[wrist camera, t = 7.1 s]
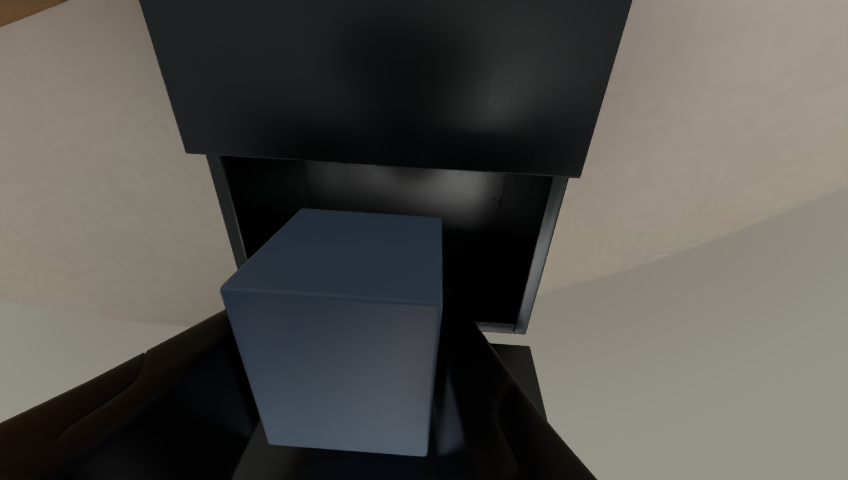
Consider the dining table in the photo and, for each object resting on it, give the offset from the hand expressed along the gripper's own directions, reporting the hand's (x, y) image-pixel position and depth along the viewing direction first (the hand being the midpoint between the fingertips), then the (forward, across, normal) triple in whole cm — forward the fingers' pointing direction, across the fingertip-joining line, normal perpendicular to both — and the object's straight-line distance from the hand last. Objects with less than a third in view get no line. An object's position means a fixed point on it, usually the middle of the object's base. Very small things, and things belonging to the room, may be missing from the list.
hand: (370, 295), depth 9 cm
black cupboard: (+9, 0, -3) cm, 10 cm away
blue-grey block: (0, 0, 0) cm, 1 cm away
